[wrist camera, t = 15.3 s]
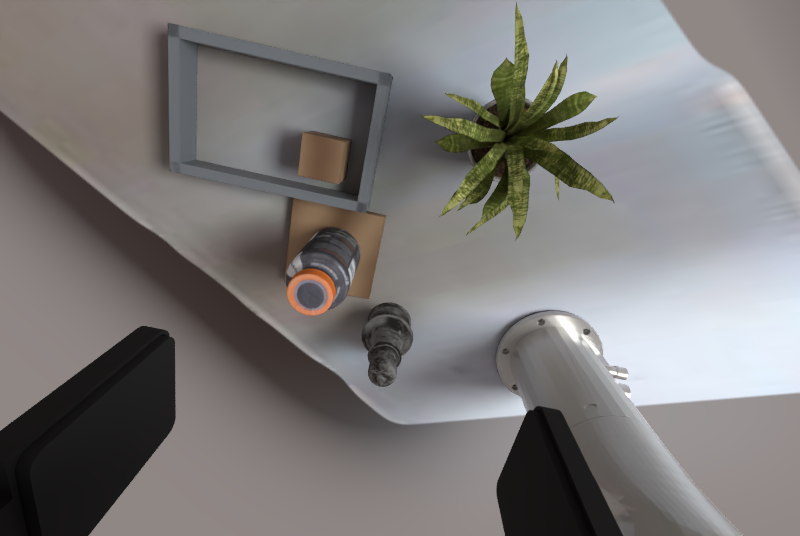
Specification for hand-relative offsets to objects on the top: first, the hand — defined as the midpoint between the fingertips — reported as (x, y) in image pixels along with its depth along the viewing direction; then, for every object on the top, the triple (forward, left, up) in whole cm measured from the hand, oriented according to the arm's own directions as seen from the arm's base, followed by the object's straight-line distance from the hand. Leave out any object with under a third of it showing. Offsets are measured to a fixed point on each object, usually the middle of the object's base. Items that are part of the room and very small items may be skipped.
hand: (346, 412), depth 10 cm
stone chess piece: (-2, +16, -34) cm, 37 cm away
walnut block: (+8, -2, -33) cm, 34 cm away
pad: (+6, +8, -33) cm, 35 cm away
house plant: (-7, -8, -34) cm, 35 cm away
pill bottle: (+6, +8, -32) cm, 34 cm away
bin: (+13, -4, -33) cm, 36 cm away
